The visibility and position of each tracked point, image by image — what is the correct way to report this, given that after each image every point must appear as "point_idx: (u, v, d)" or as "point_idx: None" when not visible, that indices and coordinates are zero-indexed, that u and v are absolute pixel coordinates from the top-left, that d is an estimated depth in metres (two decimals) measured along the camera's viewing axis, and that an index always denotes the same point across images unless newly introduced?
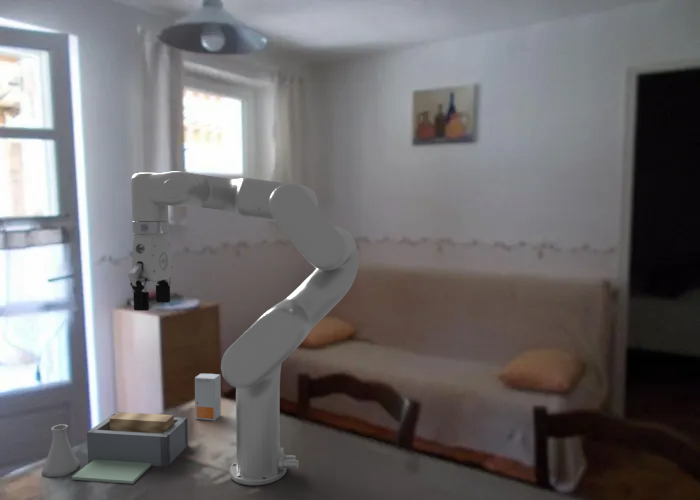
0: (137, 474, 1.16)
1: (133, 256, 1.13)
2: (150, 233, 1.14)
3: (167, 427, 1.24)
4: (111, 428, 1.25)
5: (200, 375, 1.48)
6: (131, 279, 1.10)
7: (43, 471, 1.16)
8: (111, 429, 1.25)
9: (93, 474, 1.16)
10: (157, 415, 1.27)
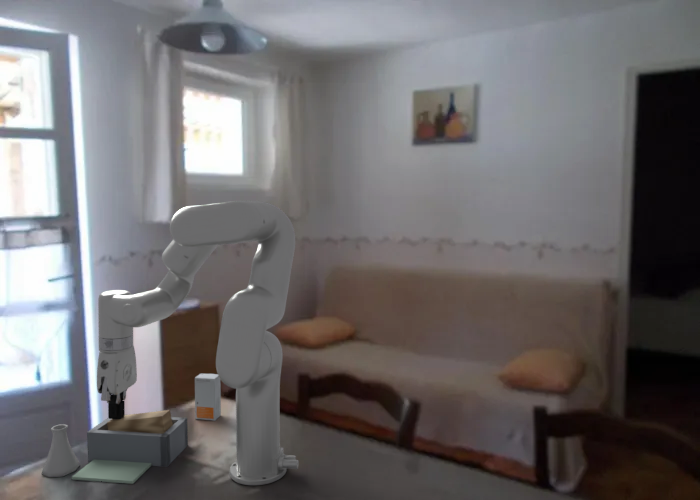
0: (137, 474, 1.16)
1: (98, 371, 1.22)
2: (114, 349, 1.22)
3: (164, 422, 1.24)
4: None
5: (200, 375, 1.48)
6: None
7: (43, 471, 1.16)
8: None
9: (93, 474, 1.16)
10: (154, 412, 1.27)
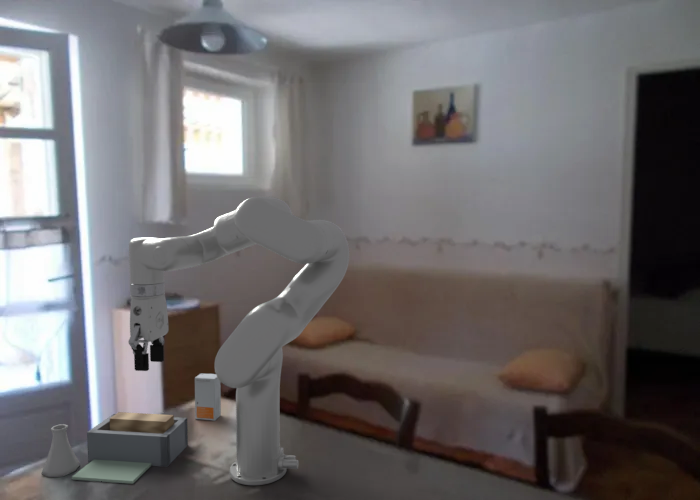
0: (137, 474, 1.16)
1: (131, 318, 1.19)
2: (147, 296, 1.20)
3: (167, 427, 1.24)
4: (111, 428, 1.25)
5: (200, 375, 1.48)
6: (131, 345, 1.17)
7: (43, 471, 1.16)
8: (111, 429, 1.25)
9: (93, 474, 1.16)
10: (157, 415, 1.27)
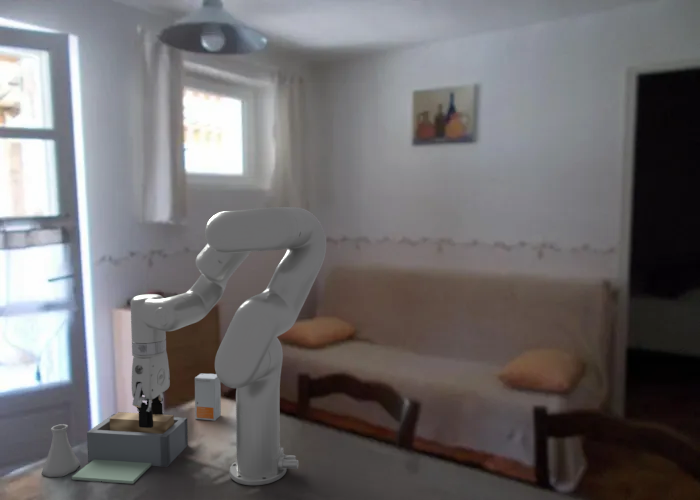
0: (137, 474, 1.16)
1: (132, 376, 1.21)
2: (148, 354, 1.21)
3: (167, 427, 1.24)
4: (111, 428, 1.25)
5: (200, 375, 1.48)
6: (136, 406, 1.20)
7: (43, 471, 1.16)
8: (111, 429, 1.25)
9: (93, 474, 1.16)
10: (157, 415, 1.27)
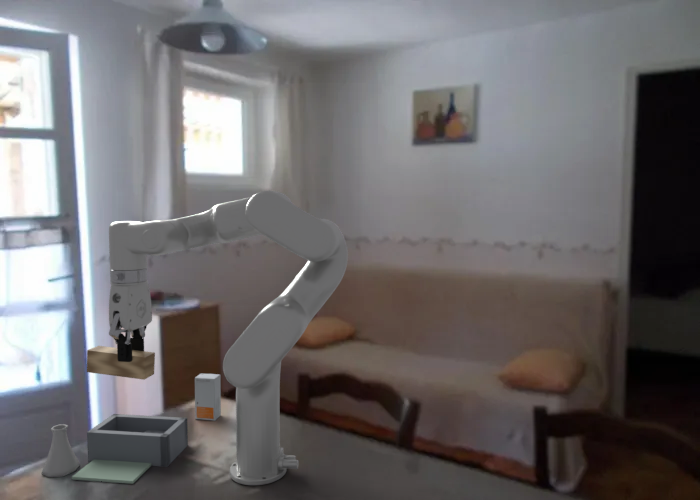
0: (137, 474, 1.16)
1: (110, 305, 1.13)
2: (127, 282, 1.14)
3: (146, 363, 1.17)
4: (88, 360, 1.18)
5: (200, 375, 1.48)
6: (113, 336, 1.12)
7: (43, 471, 1.16)
8: (88, 361, 1.18)
9: (93, 474, 1.16)
10: (137, 351, 1.20)
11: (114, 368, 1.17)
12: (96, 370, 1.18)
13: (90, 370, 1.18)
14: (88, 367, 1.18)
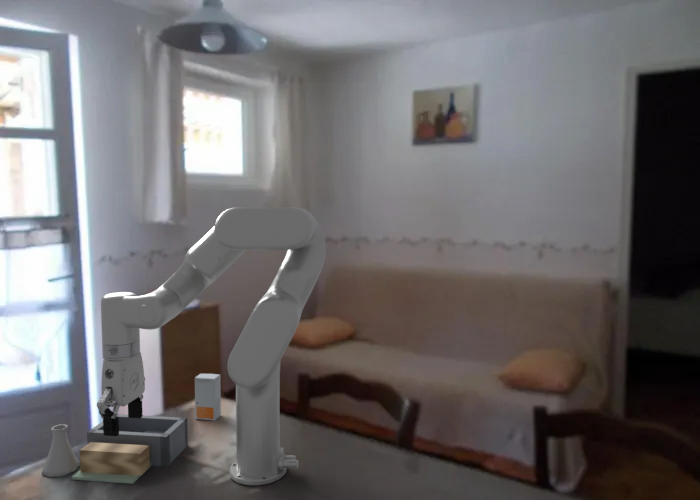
0: None
1: (102, 381, 1.11)
2: (120, 357, 1.12)
3: (142, 459, 1.16)
4: (81, 460, 1.16)
5: (200, 375, 1.48)
6: (99, 408, 1.08)
7: (43, 471, 1.16)
8: (81, 461, 1.16)
9: (93, 474, 1.16)
10: (131, 446, 1.18)
11: (109, 466, 1.16)
12: (90, 469, 1.16)
13: (84, 470, 1.17)
14: (82, 467, 1.17)
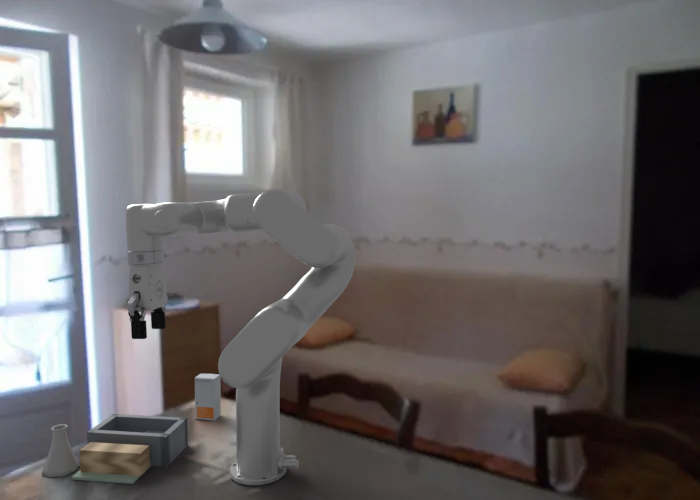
0: None
1: (130, 286, 1.16)
2: (146, 263, 1.16)
3: (142, 459, 1.16)
4: (81, 460, 1.16)
5: (200, 375, 1.48)
6: (129, 309, 1.12)
7: (43, 471, 1.16)
8: (81, 461, 1.16)
9: (93, 474, 1.16)
10: (131, 446, 1.18)
11: (109, 466, 1.16)
12: (90, 469, 1.16)
13: (84, 470, 1.17)
14: (82, 467, 1.17)
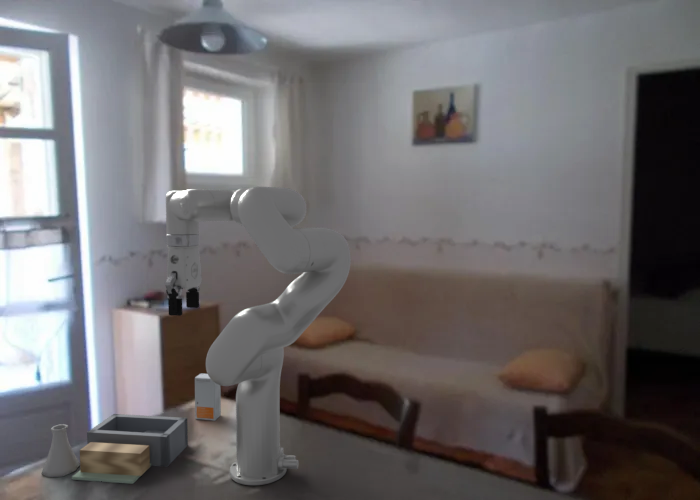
0: None
1: (168, 266, 1.25)
2: (183, 245, 1.25)
3: (142, 459, 1.16)
4: (81, 460, 1.16)
5: (200, 375, 1.48)
6: (167, 287, 1.22)
7: (43, 471, 1.16)
8: (81, 461, 1.16)
9: (93, 474, 1.16)
10: (131, 446, 1.18)
11: (109, 466, 1.16)
12: (90, 469, 1.16)
13: (84, 470, 1.17)
14: (82, 467, 1.17)
